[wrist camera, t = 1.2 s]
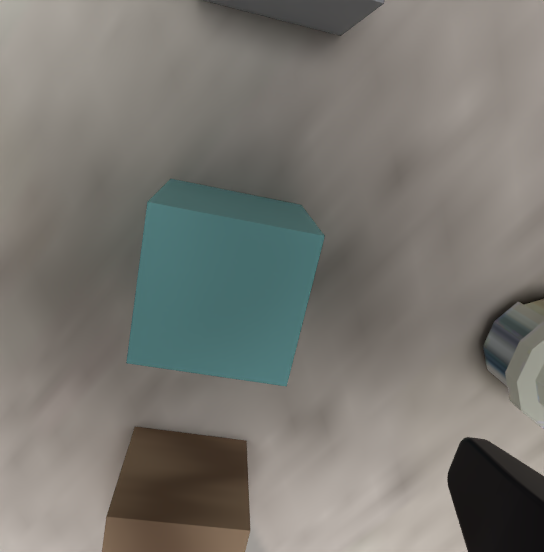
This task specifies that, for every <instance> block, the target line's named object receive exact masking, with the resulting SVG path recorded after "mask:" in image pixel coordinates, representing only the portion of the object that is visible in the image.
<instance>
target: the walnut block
mask: <svg viewBox="0 0 544 552" xmlns="http://www.w3.org/2000/svg"><path fill="white" fill-rule="evenodd" d="M249 534H250V513H249V490H248V467H247V443H246V441H245V440H237V439H230V438H222V437H214V436H206V435H198V434H190V433H182V432H174V431H166V430H158V429H150V428H142V427H135V428H134V431H133V434H132V437H131V441H130V444H129V447H128V450H127V453H126V456H125V460H124V463H123V466H122V469H121V472H120V476H119V479H118V482H117V485H116V488H115V491H114V495H113V498H112V501H111V504H110V507H109V511H108V514H107V517H106V525H105V532H104V540H103V547H102V552H245V549H246V545H247V542H248V538H249Z"/></svg>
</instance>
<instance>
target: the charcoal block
mask: <svg viewBox="0 0 544 552" xmlns="http://www.w3.org/2000/svg"><path fill="white" fill-rule="evenodd" d="M204 1H207V2H211V3H215V4H219V5H223V6H227V7H231V8H235V9H239V10H242V11H246V12H250V13H254V14H258V15H262V16H266V17H270V18H274V19H278V20H281V21H285V22H289V23H293V24H297V25H301V26H305V27H309V28H313V29H317V30H320V31H324V32H328V33H332V34H336V35H340V36H341V35H342V34H344V33H345V32H346V31H348V30H349V29H350V28H352V27H353V26H354V25H356V24H357V23H358V22H360V21H361V20H362V19H364V18H365V17H366V16H368V15H369V14H370V13H372V12H373V11H374V10H376V9H377V8H378V7H380V6H381V5H382V4H384V0H204Z"/></svg>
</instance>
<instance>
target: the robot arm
mask: <svg viewBox="0 0 544 552" xmlns="http://www.w3.org/2000/svg"><path fill="white" fill-rule="evenodd" d="M448 487H449V490H450V494H451V497H452V500H453V504H454V507H455V510H456V514H457V517H458V520H459V524H460V527H461V530H462V533H463V537H464V540H465V543H466V547H467V550H468V552H544V476H542V475H541V474H539V473H538V472H536V471H535V470H533V469H532V468H530V467H528V466H527V465H525V464H524V463H522V462H521V461H519V460H517V459H516V458H514V457H513V456H511V455H510V454H508V453H507V452H505V451H503V450H502V449H500V448H499V447H497V446H496V445H494V444H492V443H491V442H489V441H487V440H485V439H478V438H471V437H466V438H464V439H463V440H462V441H461V442H460V444H459V446H458V449H457V451H456V454H455V456H454V459H453V461H452V464H451V466H450V469H449V472H448Z"/></svg>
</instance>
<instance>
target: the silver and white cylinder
mask: <svg viewBox="0 0 544 552" xmlns="http://www.w3.org/2000/svg"><path fill="white" fill-rule="evenodd" d="M483 349H484V354H485V360H486V365H487V370H488V371H490V372H491V373H492V374H493V375H494V376H495V377H497V378H498V379H499V380H500V381H501V382H503V383H504V384H505V385H506V386H507V387H508V393H509V399H510V401H511V402H512V403H513V404H514V405H515V406H516V407H517V408H519V409H520V410H521V411H522V412H523V413H524V414H526V415H527V416H528V417H529V418H531V419H532V420H533V421H534V422H535V423H537V424H538V425H539V426H540V427H542V428H543V429H544V299H542V300H538V301H535V302H531V303H528V304H524V305H523V304H522V303H520V302H517V303H516V304H515V305H513V306H512V307H511V308H510V309H509V310H507V311H506V312H505V313H504V314H503V315H501V316H500V317H499V318H498V319H496V320H495V321H494V323H493V325H492V328H491V330H490V332H489V334H488V337H487V339H486V341H485V343H484V346H483Z"/></svg>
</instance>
